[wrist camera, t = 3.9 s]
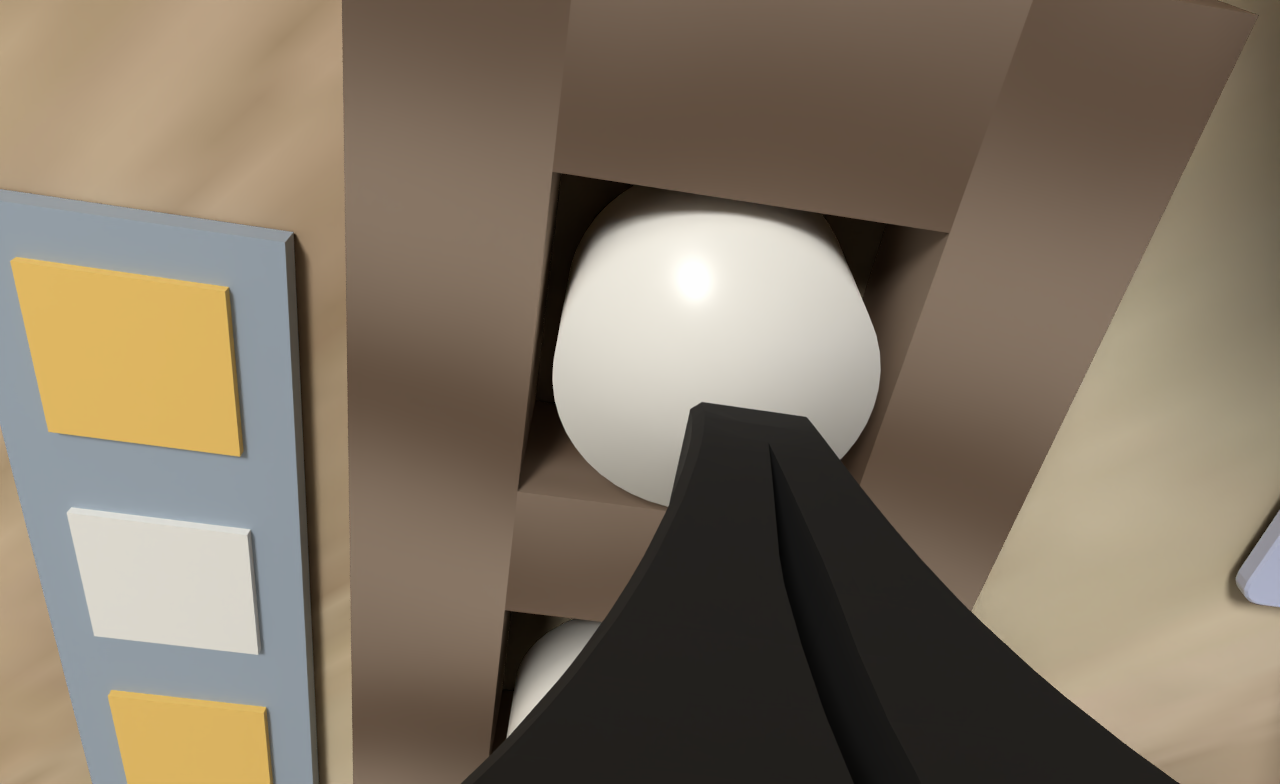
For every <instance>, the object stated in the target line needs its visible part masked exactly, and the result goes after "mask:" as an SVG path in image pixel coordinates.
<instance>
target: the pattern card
mask: <svg viewBox="0 0 1280 784" xmlns="http://www.w3.org/2000/svg"><path fill="white" fill-rule="evenodd" d="M0 425H1V429H2V433H3V437H4V441H5V445H6V449H7V453H8V456H9V460H10V464H11V468H12V472H13V476H14V480H15V484H16V488H17V491H18V495H19V499H20V503H21V507H22V511H23V515H24V519H25V523H26V527H27V530H28V534H29V538H30V542H31V546H32V550H33V554H34V558H35V562H36V565H37V569H38V573H39V577H40V581H41V585H42V589H43V593H44V597H45V601H46V604H47V608H48V612H49V616H50V620H51V624H52V628H53V632H54V636H55V639H56V643H57V647H58V651H59V655H60V659H61V663H62V667H63V671H64V674H65V678H66V682H67V686H68V690H69V694H70V698H71V702H72V706H73V710H74V713H75V717H76V721H77V725H78V729H79V733H80V737H81V741H82V745H83V748H84V752H85V756H86V760H87V764H88V768H89V772H90V776H91V780H92V784H319V773H318V751H317V729H316V708H315V686H314V665H313V643H312V621H311V600H310V578H309V556H308V535H307V513H306V492H305V470H304V448H303V427H302V405H301V384H300V362H299V340H298V319H297V297H296V276H295V254H294V232H289V231H282V230H275V229H269V228H262V227H255V226H248V225H241V224H234V223H228V222H221V221H214V220H207V219H200V218H194V217H187V216H180V215H173V214H166V213H159V212H153V211H146V210H139V209H132V208H125V207H119V206H112V205H105V204H98V203H91V202H85V201H78V200H71V199H64V198H57V197H50V196H44V195H37V194H30V193H23V192H16V191H10V190H3V189H0Z"/></svg>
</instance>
